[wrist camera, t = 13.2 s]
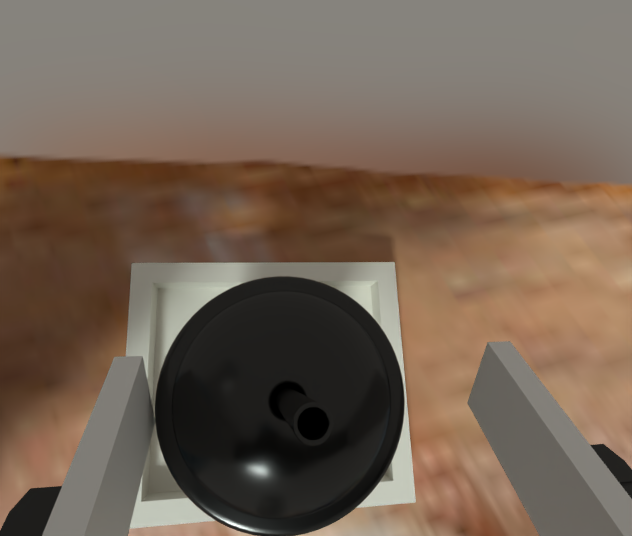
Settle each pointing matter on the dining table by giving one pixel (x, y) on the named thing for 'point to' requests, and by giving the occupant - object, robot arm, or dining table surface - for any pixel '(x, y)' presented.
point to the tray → (193, 293)
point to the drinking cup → (279, 406)
